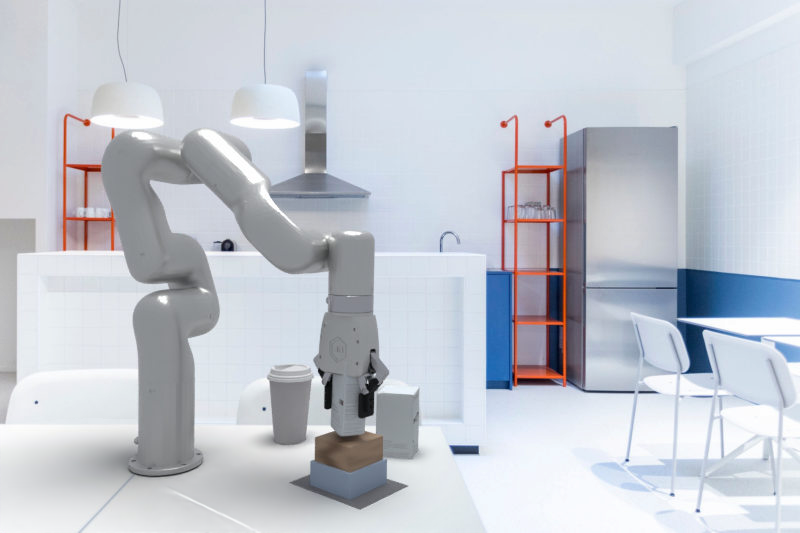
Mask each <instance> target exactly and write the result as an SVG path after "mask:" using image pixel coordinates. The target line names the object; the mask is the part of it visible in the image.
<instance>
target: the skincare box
mask: <svg viewBox="0 0 800 533" xmlns="http://www.w3.org/2000/svg"><path fill="white" fill-rule="evenodd" d="M366 373H368V369H367V372H366ZM367 378H368V377H366V378H365V379H366V382H367V383H368V380H367ZM360 393H362V391H361V388H360V385H359V382H358V379H357V378H351V377H348V376H347V363H344V373H343V375H336V374H333V382H332V405H331V409H330V412H331V413H330V427H331V428H332V430H333V431H336V432H337V433H338V434H339V435H340V436H353V435H360V434H364V433H365V431H366V418H363V419H362V418H359V417H358V396H359V394H360Z"/></svg>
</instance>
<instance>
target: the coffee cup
mask: <svg viewBox="0 0 800 533" xmlns="http://www.w3.org/2000/svg"><path fill="white" fill-rule="evenodd" d="M314 378H315V376H314V372H313V371H312V369H311V366H310V365H308V364H303V363H302V364H301V363H281V364H276V365H273V366H271V368H270V371H269V372H268V373H267V376H266V379H267V380H268V382H269V392H270V393H269V394H270V395H269V396H270V405H271V417H272V419H271V420H272V432H273V433H272V434H273V441H274V443H276V444H279V445H287V446H289V445H290V444H292V445H297V444H302V443H304V442H305V441H306V440H307V430H308V420H309V409H310V399H311V390H312V382H313V379H314ZM303 441H304V442H303ZM301 442H302V443H301Z"/></svg>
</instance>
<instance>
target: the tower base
mask: <svg viewBox="0 0 800 533" xmlns="http://www.w3.org/2000/svg"><path fill="white" fill-rule="evenodd" d="M309 465H310V466H309V468H310V469H309V472H310V473H309V475H310V485H311V486H314V487H316V488H319V489H322V490H325V491H327V492H330V493H333V494H335V495H338V496H341V497H343V498H346V499H349V500H351V499H353V498H355V497H357V496H359V495H362V494H364V493H366V492H368V491H370V490H373V489H375V488H377V487H379V486H381V485H383V484H386V483H387V479H388V478H387V477H388V459H387V458H385V457H383V460H380V461H378V462H376V463H373V464H371V465H368V466H366V467H363V468H361V469H358V470H356V471H353V472H351V473H349V472H346V471H343V470H340V469H337V468H334V467H331V466H328V465H325V464H322V463H319V462H316V461H315V459H313V460H310V464H309Z"/></svg>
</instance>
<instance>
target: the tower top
mask: <svg viewBox="0 0 800 533" xmlns="http://www.w3.org/2000/svg"><path fill="white" fill-rule="evenodd" d="M383 458H384V457H383V436H382V435H378V434H376V432H375V433H374V432H372V431H371V432H370V431H367V430H365V433H364V434H360V435H353V436H340V435H339V434H338V433H337V432H336V431H334V430H333V431H330V432H329V431H328V433H327V432H326V433H324V434H321V435H320V434H319V435H317V436H315V437H314V460H315V461H316V462H319V463H322V464H325V465H328V466H331V467H334V468H337V469H340V470H343V471H346V472H349V473H351V472H353V471H356V470H358V469H361V468H363V467H366V466H368V465H371V464H373V463H376V462H378V461H380V460H383Z"/></svg>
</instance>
